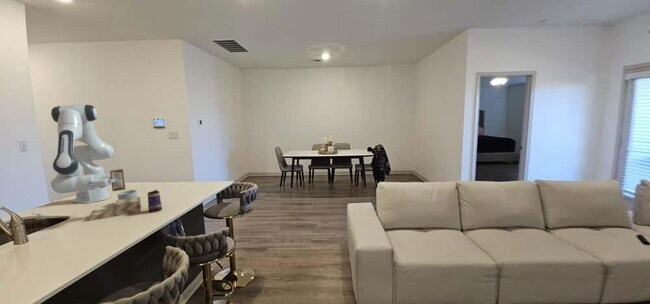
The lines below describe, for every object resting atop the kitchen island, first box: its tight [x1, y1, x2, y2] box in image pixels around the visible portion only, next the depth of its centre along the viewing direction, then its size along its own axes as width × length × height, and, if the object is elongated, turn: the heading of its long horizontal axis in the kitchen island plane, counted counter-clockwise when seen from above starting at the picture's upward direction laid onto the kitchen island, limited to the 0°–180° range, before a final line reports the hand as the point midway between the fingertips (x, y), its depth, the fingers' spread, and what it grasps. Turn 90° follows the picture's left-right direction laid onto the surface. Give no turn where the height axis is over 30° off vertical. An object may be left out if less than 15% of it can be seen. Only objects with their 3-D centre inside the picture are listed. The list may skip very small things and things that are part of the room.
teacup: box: [116, 189, 138, 200], centre depth 193 cm, size 14×11×8 cm
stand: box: [89, 196, 142, 221], centre depth 172 cm, size 24×10×7 cm, turn 119°
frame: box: [109, 168, 126, 192], centre depth 171 cm, size 6×3×12 cm, turn 119°
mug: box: [147, 189, 163, 213], centre depth 176 cm, size 10×7×12 cm
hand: (119, 178), depth 171 cm, fingers closed on frame, 3 cm apart
